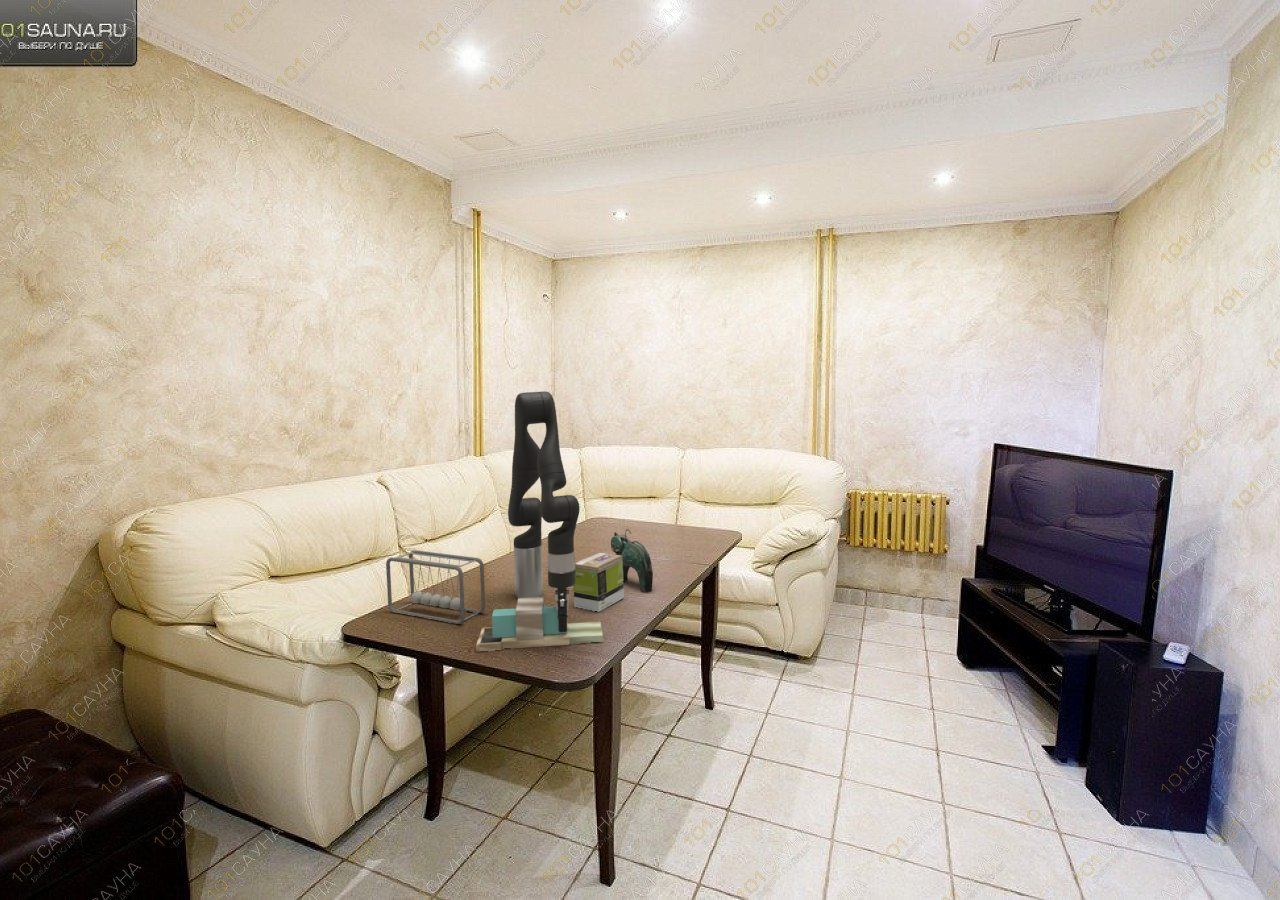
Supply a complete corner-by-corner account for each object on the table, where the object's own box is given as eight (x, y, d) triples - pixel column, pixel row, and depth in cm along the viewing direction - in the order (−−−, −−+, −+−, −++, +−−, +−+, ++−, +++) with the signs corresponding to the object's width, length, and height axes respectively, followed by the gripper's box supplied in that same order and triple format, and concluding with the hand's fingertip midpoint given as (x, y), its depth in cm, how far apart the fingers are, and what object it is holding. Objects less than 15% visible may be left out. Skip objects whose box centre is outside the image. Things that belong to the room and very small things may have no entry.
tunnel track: (482, 634, 165) (481, 599, 164) (600, 626, 169) (599, 592, 168) (476, 652, 153) (475, 614, 152) (603, 643, 158) (602, 607, 157)
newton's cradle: (486, 614, 181) (484, 558, 179) (463, 626, 171) (460, 567, 170) (412, 601, 193) (410, 549, 191) (387, 612, 183) (384, 557, 182)
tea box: (599, 593, 198) (599, 551, 197) (624, 598, 193) (624, 555, 192) (572, 607, 186) (571, 562, 184) (598, 613, 180) (597, 566, 179)
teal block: (494, 630, 162) (494, 609, 161) (567, 626, 165) (566, 605, 164) (492, 637, 157) (491, 616, 156) (567, 633, 160) (566, 611, 159)
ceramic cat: (609, 580, 213) (608, 526, 211) (624, 577, 217) (623, 524, 215) (643, 594, 197) (642, 536, 195) (657, 590, 201) (657, 533, 199)
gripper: (548, 561, 167) (549, 618, 168) (547, 576, 153) (548, 639, 154) (574, 560, 168) (575, 617, 169) (575, 574, 154) (577, 637, 155)
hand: (562, 627), depth 162 cm, fingers closed on teal block, 5 cm apart
